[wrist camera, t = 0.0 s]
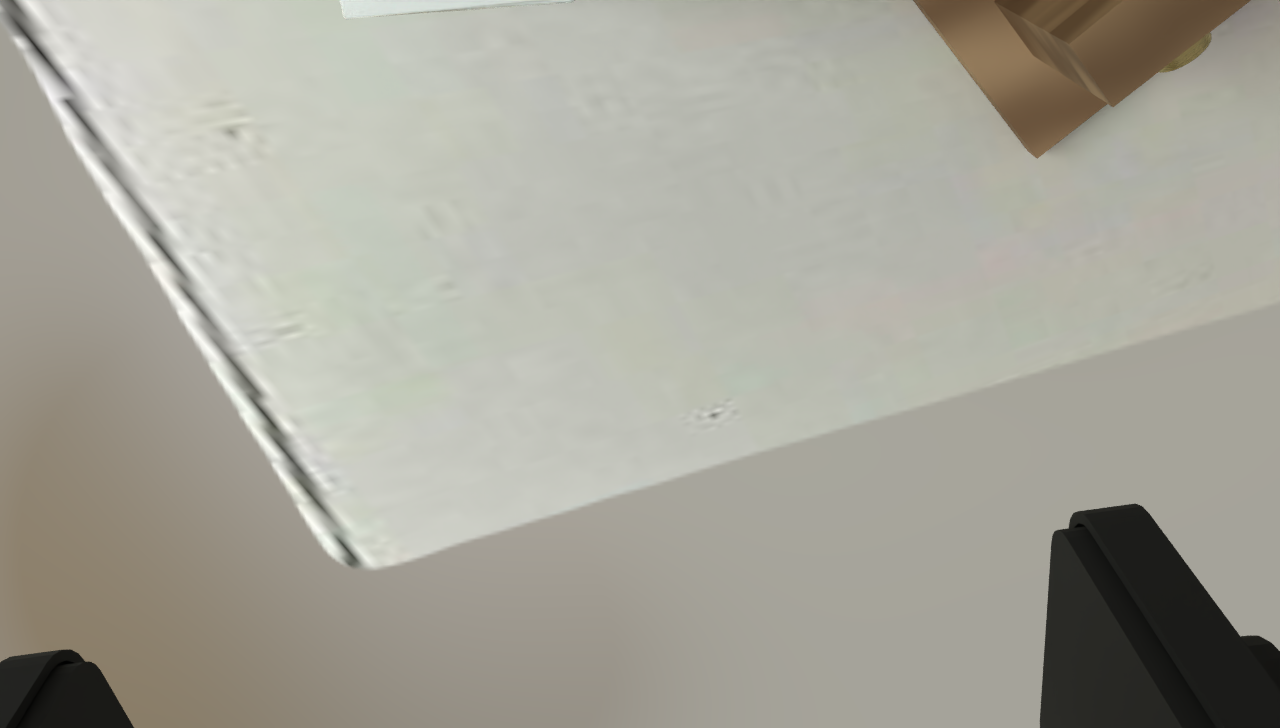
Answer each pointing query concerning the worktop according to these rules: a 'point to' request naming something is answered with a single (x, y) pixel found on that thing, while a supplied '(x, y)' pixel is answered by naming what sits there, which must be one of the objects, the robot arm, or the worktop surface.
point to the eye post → (1067, 53)
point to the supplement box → (427, 6)
